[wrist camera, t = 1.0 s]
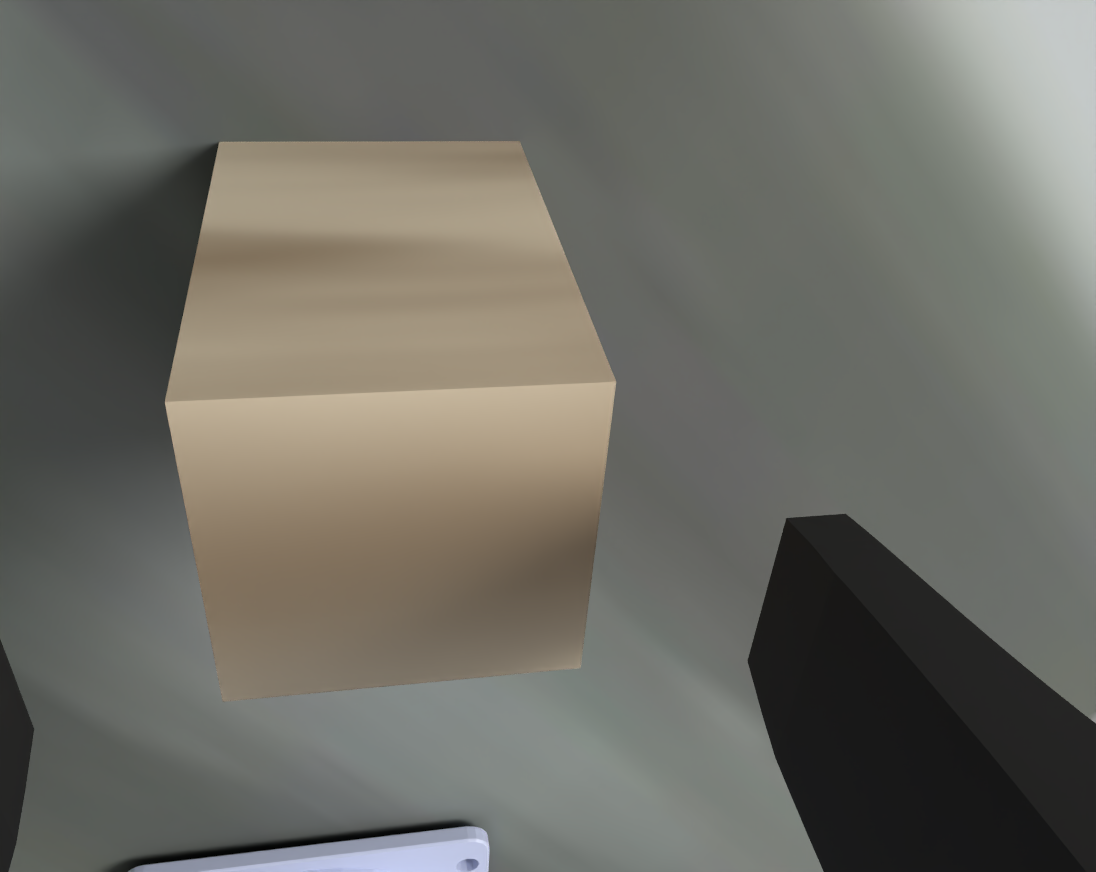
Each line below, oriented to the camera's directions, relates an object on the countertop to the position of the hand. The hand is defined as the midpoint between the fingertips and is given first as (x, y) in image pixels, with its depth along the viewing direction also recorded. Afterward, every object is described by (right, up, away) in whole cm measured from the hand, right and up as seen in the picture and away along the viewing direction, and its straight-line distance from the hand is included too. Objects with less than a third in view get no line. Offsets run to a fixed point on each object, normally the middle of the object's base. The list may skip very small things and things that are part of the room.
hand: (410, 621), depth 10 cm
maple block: (-1, +4, +5) cm, 7 cm away
